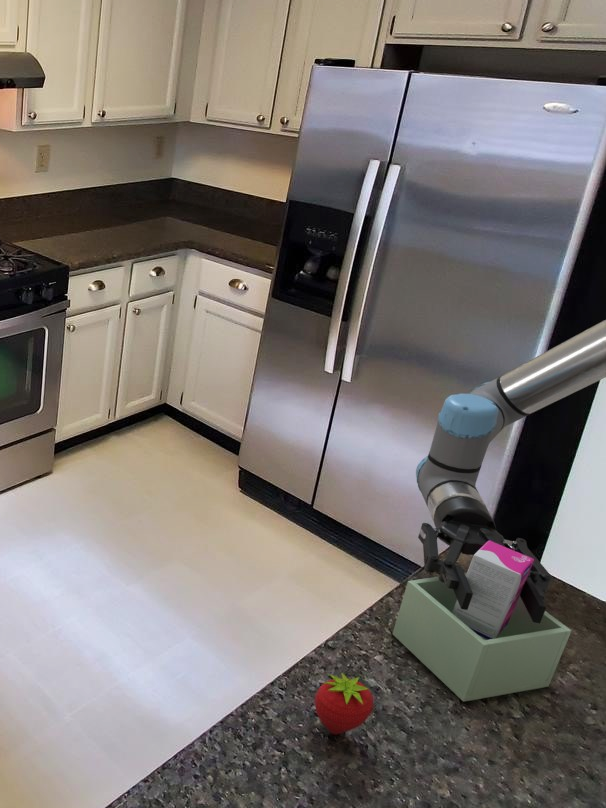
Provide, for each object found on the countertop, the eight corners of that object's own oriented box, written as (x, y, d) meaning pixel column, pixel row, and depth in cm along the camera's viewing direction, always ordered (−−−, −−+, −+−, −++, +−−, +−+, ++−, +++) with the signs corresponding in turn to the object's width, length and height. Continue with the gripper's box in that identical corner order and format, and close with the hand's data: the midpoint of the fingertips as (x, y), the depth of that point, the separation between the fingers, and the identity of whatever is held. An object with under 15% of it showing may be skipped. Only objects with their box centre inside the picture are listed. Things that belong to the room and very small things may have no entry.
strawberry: (375, 740, 101) (394, 680, 97) (332, 760, 98) (349, 700, 94) (337, 707, 106) (353, 649, 101) (295, 726, 103) (310, 667, 99)
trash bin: (470, 621, 121) (488, 569, 117) (548, 686, 109) (572, 630, 105) (392, 634, 119) (407, 580, 114) (463, 702, 106) (483, 645, 102)
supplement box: (494, 643, 107) (520, 574, 103) (447, 621, 112) (470, 553, 107) (510, 625, 111) (535, 557, 106) (464, 604, 115) (486, 537, 110)
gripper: (529, 549, 122) (585, 647, 103) (382, 525, 128) (408, 614, 109) (544, 507, 119) (605, 601, 100) (393, 485, 125) (422, 569, 106)
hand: (503, 607), depth 104 cm, fingers closed on supplement box, 8 cm apart
